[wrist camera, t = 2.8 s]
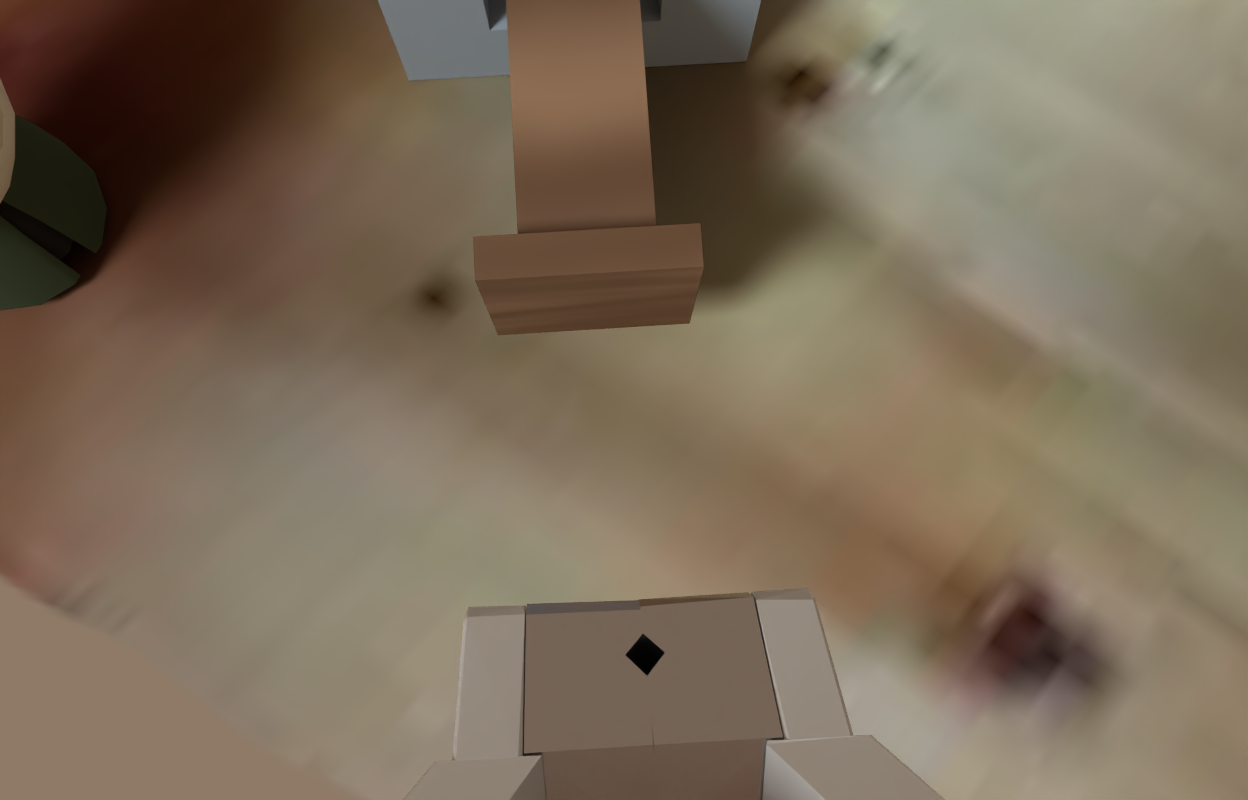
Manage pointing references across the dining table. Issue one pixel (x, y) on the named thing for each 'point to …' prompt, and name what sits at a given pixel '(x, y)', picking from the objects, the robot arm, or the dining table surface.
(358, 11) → the dining table surface
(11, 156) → the character mug
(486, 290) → the shaft
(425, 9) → the grey rectangular block
